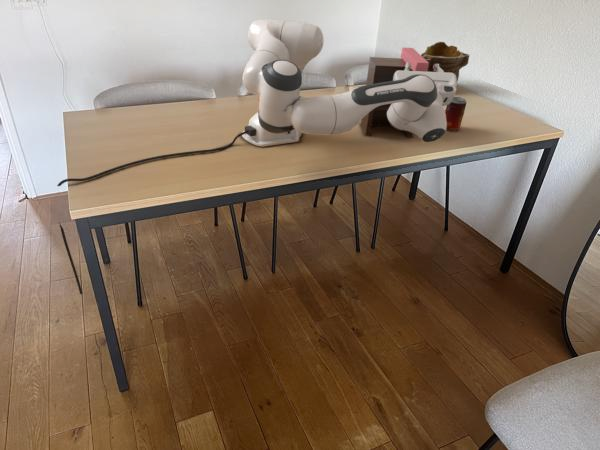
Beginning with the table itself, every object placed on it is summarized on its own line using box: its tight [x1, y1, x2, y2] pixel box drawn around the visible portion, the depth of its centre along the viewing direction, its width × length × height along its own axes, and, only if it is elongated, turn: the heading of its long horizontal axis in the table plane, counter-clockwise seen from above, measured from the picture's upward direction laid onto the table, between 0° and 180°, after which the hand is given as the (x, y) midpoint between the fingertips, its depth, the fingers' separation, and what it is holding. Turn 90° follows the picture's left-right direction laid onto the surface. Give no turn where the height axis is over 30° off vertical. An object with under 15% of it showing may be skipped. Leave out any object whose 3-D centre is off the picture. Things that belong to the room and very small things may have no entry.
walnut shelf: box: [360, 56, 414, 138], centre depth 168 cm, size 12×18×26 cm, turn 92°
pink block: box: [400, 47, 429, 72], centre depth 158 cm, size 22×4×4 cm, turn 2°
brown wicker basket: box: [420, 41, 470, 82], centre depth 220 cm, size 23×24×25 cm
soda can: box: [445, 96, 468, 132], centre depth 177 cm, size 7×7×12 cm
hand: (421, 64), depth 149 cm, fingers open, 8 cm apart
